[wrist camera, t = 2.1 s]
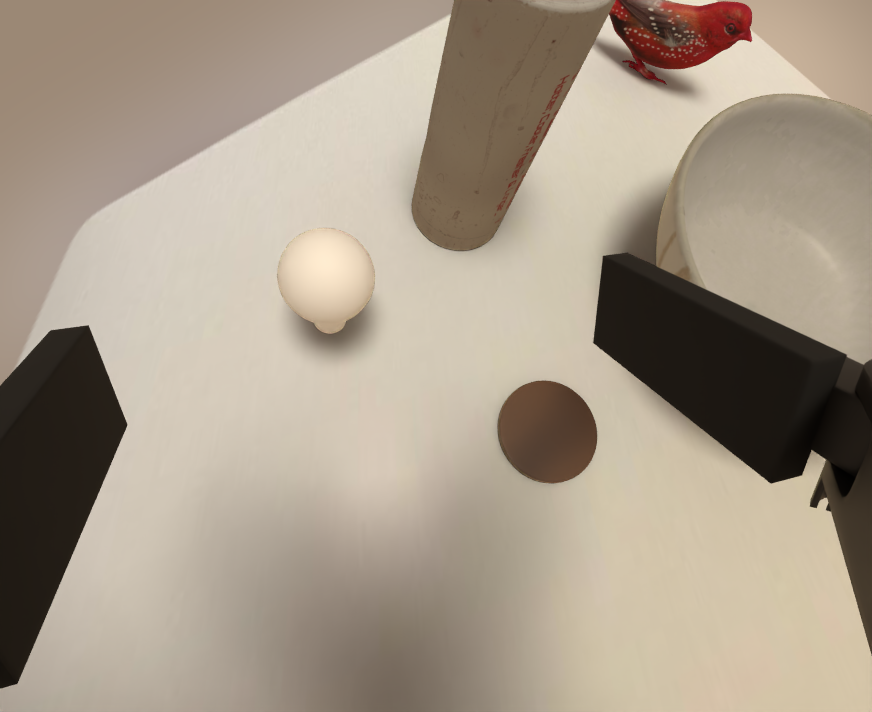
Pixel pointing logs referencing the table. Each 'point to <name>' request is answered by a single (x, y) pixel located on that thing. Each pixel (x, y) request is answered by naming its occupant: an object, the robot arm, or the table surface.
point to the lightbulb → (326, 277)
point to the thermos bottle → (496, 108)
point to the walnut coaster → (547, 432)
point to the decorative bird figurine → (678, 31)
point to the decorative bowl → (779, 216)
